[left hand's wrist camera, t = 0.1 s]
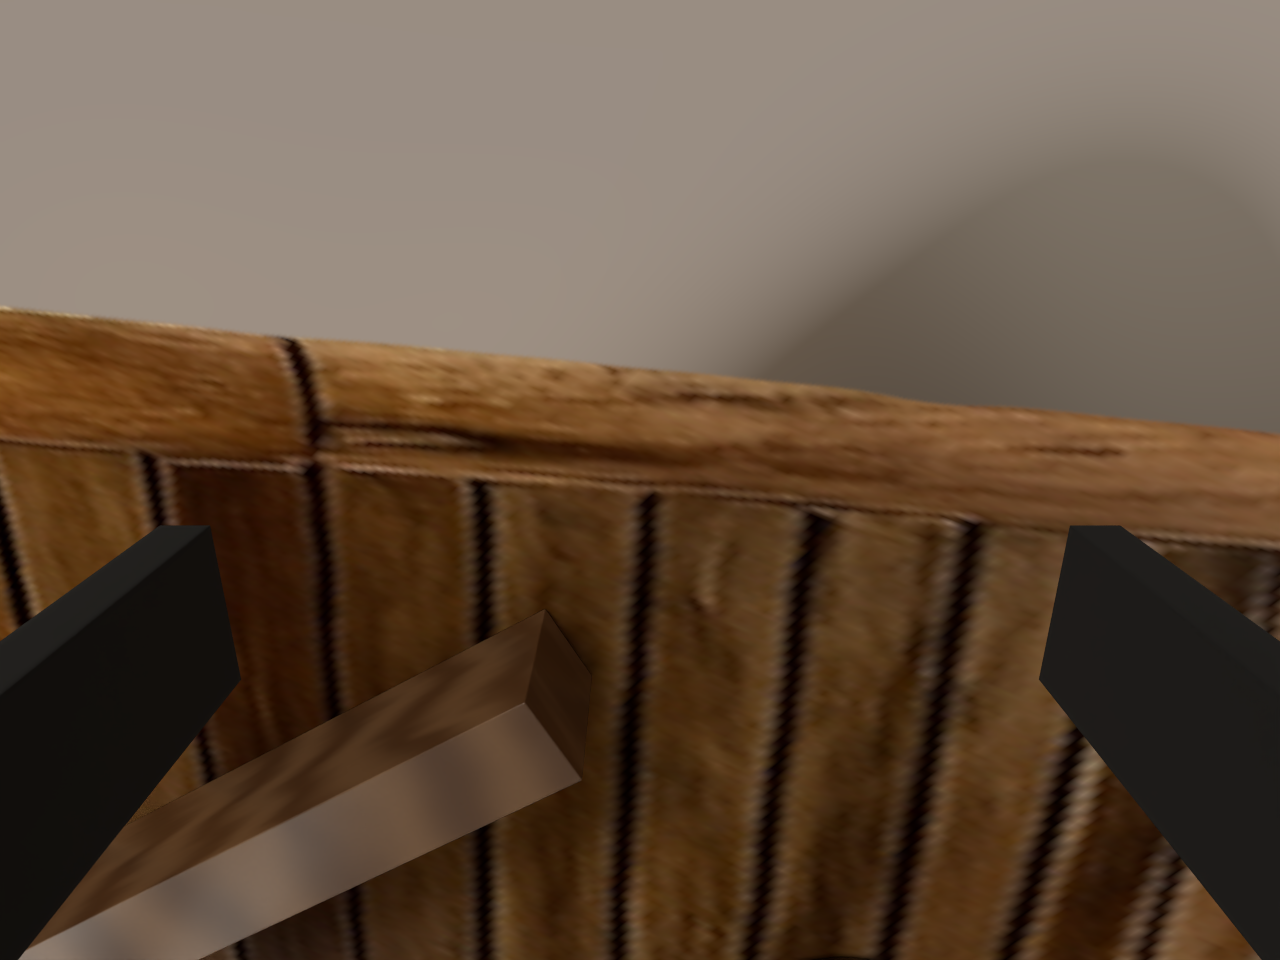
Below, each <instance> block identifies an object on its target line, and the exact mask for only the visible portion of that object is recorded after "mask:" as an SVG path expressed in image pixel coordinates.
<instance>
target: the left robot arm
mask: <svg viewBox="0 0 1280 960" xmlns="http://www.w3.org/2000/svg"><path fill="white" fill-rule="evenodd" d="M240 680H241V677H240V672H239V667H238V662H237V657H236V652H235V647H234V642H233V637H232V632H231V627H230V623H229V618H228V613H227V608H226V603H225V598H224V593H223V588H222V583H221V578H220V573H219V568H218V563H217V558H216V553H215V548H214V543H213V538H212V533H211V528H210V526H159V527H157V528H156V529H154V530H153V531H152V532H150V533H149V534H148V535H146V536H145V537H143V538H142V539H141V540H139V541H138V542H137V543H135V544H134V545H132V546H131V547H130V548H128V549H127V550H126V551H124V552H123V553H121V554H120V555H119V556H117V557H116V558H115V559H113V560H112V561H110V562H109V563H108V564H106V565H105V566H103V567H102V568H101V569H99V570H98V571H97V572H95V573H94V574H92V575H91V576H90V577H88V578H87V579H86V580H84V581H83V582H81V583H80V584H79V585H77V586H76V587H75V588H73V589H72V590H70V591H69V592H68V593H66V594H65V595H64V596H62V597H61V598H59V599H58V600H57V601H55V602H54V603H53V604H51V605H50V606H48V607H47V608H46V609H44V610H43V611H41V612H40V613H39V614H37V615H36V616H35V617H33V618H32V619H30V620H29V621H28V622H26V623H25V624H24V625H22V626H21V627H19V628H18V629H17V630H15V631H14V632H13V633H11V634H10V635H8V636H7V637H6V638H4V639H3V640H2V641H0V960H18V959H19V958H20V957H21V956H22V954H23V953H24V952H25V951H26V949H27V948H28V947H29V946H30V944H31V943H32V942H33V941H34V939H35V938H36V937H37V936H38V934H39V933H40V932H41V931H42V929H43V928H44V927H45V925H46V924H47V923H48V922H49V920H50V919H51V918H52V917H53V915H54V914H55V913H56V912H57V910H58V909H59V908H60V907H61V905H62V904H63V903H64V902H65V900H66V899H67V898H68V897H69V895H70V894H71V893H72V891H73V890H74V889H75V888H76V886H77V885H78V884H79V883H80V881H81V880H82V879H83V878H84V876H85V875H86V874H87V873H88V871H89V870H90V869H91V868H92V866H93V865H94V864H95V863H96V861H97V860H98V859H99V858H100V856H101V855H102V854H103V852H104V851H105V850H106V849H107V847H108V846H109V845H110V844H111V842H112V841H113V840H114V839H115V837H116V836H117V835H118V834H119V832H120V831H121V830H122V829H123V827H124V826H125V825H126V824H127V822H128V821H129V820H130V818H131V817H132V816H133V815H134V813H135V812H136V811H137V810H138V808H139V807H140V806H141V805H142V803H143V802H144V801H145V800H146V798H147V797H148V796H149V795H150V793H151V792H152V791H153V790H154V788H155V787H156V786H157V785H158V783H159V782H160V781H161V779H162V778H163V777H164V776H165V774H166V773H167V772H168V771H169V769H170V768H171V767H172V766H173V764H174V763H175V762H176V761H177V759H178V758H179V757H180V756H181V754H182V753H183V752H184V751H185V749H186V748H187V747H188V745H189V744H190V743H191V742H192V740H193V739H194V738H195V737H196V735H197V734H198V733H199V732H200V730H201V729H202V728H203V727H204V725H205V724H206V723H207V722H208V720H209V719H210V718H211V717H212V715H213V714H214V713H215V711H216V710H217V709H218V708H219V706H220V705H221V704H222V703H223V701H224V700H225V699H226V698H227V696H228V695H229V694H230V693H231V691H232V690H233V689H234V688H235V686H236V685H237V684H238V683H239V681H240ZM1039 680H1040V681H1041V683H1042V684H1043V685H1044V686H1045V688H1046V689H1047V690H1048V691H1049V693H1050V694H1051V695H1052V696H1053V698H1054V699H1055V700H1056V701H1057V703H1058V704H1059V705H1060V706H1061V708H1062V709H1063V710H1064V711H1065V713H1066V714H1067V715H1068V717H1069V718H1070V719H1071V720H1072V722H1073V723H1074V724H1075V725H1076V727H1077V728H1078V729H1079V730H1080V732H1081V733H1082V734H1083V735H1084V737H1085V738H1086V739H1087V740H1088V742H1089V743H1090V744H1091V745H1092V747H1093V748H1094V749H1095V751H1096V752H1097V753H1098V754H1099V756H1100V757H1101V758H1102V759H1103V761H1104V762H1105V763H1106V764H1107V766H1108V767H1109V768H1110V769H1111V771H1112V772H1113V773H1114V774H1115V776H1116V777H1117V778H1118V779H1119V781H1120V782H1121V783H1122V785H1123V786H1124V787H1125V788H1126V790H1127V791H1128V792H1129V793H1130V795H1131V796H1132V797H1133V798H1134V800H1135V801H1136V802H1137V803H1138V805H1139V806H1140V807H1141V808H1142V810H1143V811H1144V812H1145V813H1146V815H1147V816H1148V817H1149V818H1150V820H1151V821H1152V822H1153V824H1154V825H1155V826H1156V827H1157V829H1158V830H1159V831H1160V832H1161V834H1162V835H1163V836H1164V837H1165V839H1166V840H1167V841H1168V842H1169V844H1170V845H1171V846H1172V847H1173V849H1174V850H1175V851H1176V852H1177V854H1178V855H1179V856H1180V858H1181V859H1182V860H1183V861H1184V863H1185V864H1186V865H1187V866H1188V868H1189V869H1190V870H1191V871H1192V873H1193V874H1194V875H1195V876H1196V878H1197V879H1198V880H1199V881H1200V883H1201V884H1202V885H1203V886H1204V888H1205V889H1206V890H1207V891H1208V893H1209V894H1210V895H1211V897H1212V898H1213V899H1214V900H1215V902H1216V903H1217V904H1218V905H1219V907H1220V908H1221V909H1222V910H1223V912H1224V913H1225V914H1226V915H1227V917H1228V918H1229V919H1230V920H1231V922H1232V923H1233V924H1234V925H1235V927H1236V928H1237V929H1238V931H1239V932H1240V933H1241V934H1242V936H1243V937H1244V938H1245V939H1246V941H1247V942H1248V943H1249V944H1250V946H1251V947H1252V948H1253V949H1254V951H1255V952H1256V953H1257V954H1258V956H1259V957H1260V958H1261V959H1262V960H1280V641H1278V640H1277V639H1276V638H1274V637H1273V636H1272V635H1270V634H1269V633H1267V632H1266V631H1265V630H1263V629H1262V628H1261V627H1259V626H1258V625H1256V624H1255V623H1254V622H1252V621H1251V620H1250V619H1248V618H1247V617H1245V616H1244V615H1243V614H1241V613H1240V612H1239V611H1237V610H1236V609H1234V608H1233V607H1232V606H1230V605H1229V604H1227V603H1226V602H1225V601H1223V600H1222V599H1221V598H1219V597H1218V596H1216V595H1215V594H1214V593H1212V592H1211V591H1210V590H1208V589H1207V588H1205V587H1204V586H1203V585H1201V584H1200V583H1199V582H1197V581H1196V580H1194V579H1193V578H1192V577H1190V576H1189V575H1188V574H1186V573H1185V572H1183V571H1182V570H1181V569H1179V568H1178V567H1177V566H1175V565H1174V564H1172V563H1171V562H1170V561H1168V560H1167V559H1165V558H1164V557H1163V556H1161V555H1160V554H1159V553H1157V552H1156V551H1154V550H1153V549H1152V548H1150V547H1149V546H1148V545H1146V544H1145V543H1143V542H1142V541H1141V540H1139V539H1138V538H1137V537H1135V536H1134V535H1132V534H1131V533H1130V532H1128V531H1127V530H1126V529H1124V528H1123V527H1121V526H1070V528H1069V533H1068V538H1067V543H1066V548H1065V553H1064V558H1063V563H1062V568H1061V573H1060V578H1059V583H1058V588H1057V593H1056V598H1055V603H1054V608H1053V613H1052V618H1051V623H1050V627H1049V632H1048V637H1047V642H1046V647H1045V652H1044V657H1043V662H1042V667H1041V672H1040V677H1039ZM815 960H866V959H859V958H846V957H837V958H823V959H815Z"/></svg>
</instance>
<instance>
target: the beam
mask: <svg viewBox="0 0 1280 960" xmlns="http://www.w3.org/2000/svg"><path fill="white" fill-rule="evenodd" d="M591 680H592V675H591V674H590V673H589V671H588V670H587V668H586V667H585V665H584V664H583V663H582V661H581V660H580V658H579V657H578V655H577V654H576V652H575V651H574V650H573V648H572V647H571V645H570V644H569V642H568V641H567V640H566V638H565V637H564V635H563V634H562V632H561V631H560V629H559V628H558V627H557V625H556V624H555V622H554V621H553V619H552V618H551V616H550V615H549V614H548V612H547V611H546V610H545V609H544V610H542V611H540V612H538V613H536V614H534V615H533V616H531V617H529V618H527V619H525V620H523V621H521V622H519V623H517V624H515V625H513V626H511V627H509V628H507V629H505V630H503V631H502V632H500V633H498V634H496V635H494V636H492V637H490V638H488V639H486V640H484V641H482V642H480V643H478V644H476V645H474V646H472V647H471V648H469V649H467V650H465V651H463V652H461V653H459V654H457V655H455V656H453V657H451V658H449V659H447V660H445V661H443V662H442V663H440V664H438V665H436V666H434V667H432V668H430V669H428V670H426V671H424V672H422V673H420V674H418V675H416V676H414V677H412V678H411V679H409V680H407V681H405V682H403V683H401V684H399V685H397V686H395V687H393V688H391V689H389V690H387V691H385V692H383V693H381V694H380V695H378V696H376V697H374V698H372V699H370V700H368V701H366V702H364V703H362V704H360V705H358V706H356V707H354V708H352V709H350V710H349V711H347V712H345V713H343V714H341V715H339V716H337V717H335V718H333V719H331V720H329V721H327V722H325V723H323V724H321V725H320V726H318V727H316V728H314V729H312V730H310V731H308V732H306V733H304V734H302V735H300V736H298V737H296V738H294V739H292V740H290V741H289V742H287V743H285V744H283V745H281V746H279V747H277V748H275V749H273V750H271V751H269V752H267V753H265V754H263V755H261V756H259V757H258V758H256V759H254V760H252V761H250V762H248V763H246V764H244V765H242V766H240V767H238V768H236V769H234V770H232V771H230V772H228V773H227V774H225V775H223V776H221V777H219V778H217V779H215V780H213V781H211V782H209V783H207V784H205V785H203V786H201V787H199V788H198V789H196V790H194V791H192V792H190V793H188V794H186V795H184V796H182V797H180V798H178V799H176V800H174V801H172V802H170V803H168V804H167V805H165V806H163V807H161V808H159V809H157V810H155V811H153V812H151V813H149V814H147V815H145V816H143V817H141V818H139V819H137V820H136V821H134V822H132V823H130V824H128V825H126V826H124V827H123V829H122V830H121V831H120V832H119V834H118V835H117V836H116V837H115V839H114V840H113V841H112V842H111V844H110V845H109V846H108V847H107V849H106V850H105V851H104V852H103V854H102V855H101V856H100V858H99V859H98V860H97V861H96V863H95V864H94V865H93V866H92V868H91V869H90V870H89V871H88V873H87V874H86V875H85V876H84V878H83V879H82V880H81V881H80V883H79V884H78V885H77V886H76V888H75V889H74V890H73V891H72V893H71V894H70V895H69V897H68V898H67V899H66V900H65V902H64V903H63V904H62V905H61V907H60V908H59V909H58V910H57V912H56V913H55V914H54V915H53V917H52V918H51V919H50V920H49V922H48V923H47V924H46V925H45V927H44V928H43V929H42V931H41V932H40V933H39V934H38V936H37V937H36V938H35V939H34V941H33V942H32V943H31V944H30V946H29V947H28V948H27V949H26V951H25V952H24V953H23V954H22V956H21V957H20V958H19V959H18V960H199V959H202V958H204V957H206V956H208V955H210V954H212V953H214V952H217V951H219V950H221V949H223V948H225V947H227V946H229V945H231V944H234V943H236V942H238V941H240V940H242V939H244V938H246V937H249V936H251V935H253V934H255V933H257V932H259V931H261V930H263V929H266V928H268V927H270V926H272V925H274V924H276V923H278V922H281V921H283V920H285V919H287V918H289V917H291V916H293V915H295V914H298V913H300V912H302V911H304V910H306V909H308V908H310V907H312V906H315V905H317V904H319V903H321V902H323V901H325V900H327V899H330V898H332V897H334V896H336V895H338V894H340V893H342V892H344V891H347V890H349V889H351V888H353V887H355V886H357V885H359V884H362V883H364V882H366V881H368V880H370V879H372V878H374V877H376V876H379V875H381V874H383V873H385V872H387V871H389V870H391V869H394V868H396V867H398V866H400V865H402V864H404V863H406V862H408V861H411V860H413V859H415V858H417V857H419V856H421V855H423V854H426V853H428V852H430V851H432V850H434V849H436V848H438V847H440V846H443V845H445V844H447V843H449V842H451V841H453V840H455V839H457V838H460V837H462V836H464V835H466V834H468V833H470V832H472V831H475V830H477V829H479V828H481V827H483V826H485V825H487V824H489V823H492V822H494V821H496V820H498V819H500V818H502V817H504V816H507V815H509V814H511V813H513V812H515V811H517V810H519V809H521V808H524V807H526V806H528V805H530V804H532V803H534V802H536V801H539V800H541V799H543V798H545V797H547V796H549V795H551V794H553V793H556V792H558V791H560V790H562V789H564V788H566V787H568V786H571V785H573V784H575V783H577V782H579V781H581V780H582V773H583V763H584V753H585V742H586V732H587V722H588V711H589V701H590V690H591Z"/></svg>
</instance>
